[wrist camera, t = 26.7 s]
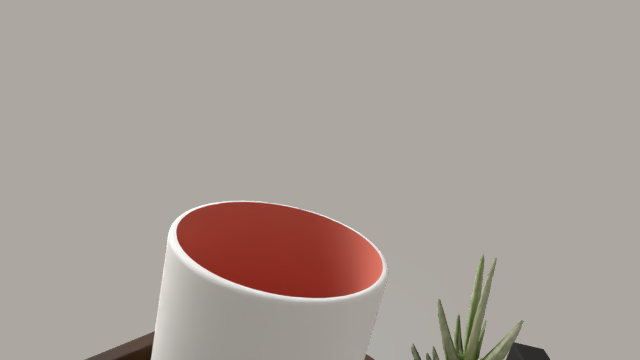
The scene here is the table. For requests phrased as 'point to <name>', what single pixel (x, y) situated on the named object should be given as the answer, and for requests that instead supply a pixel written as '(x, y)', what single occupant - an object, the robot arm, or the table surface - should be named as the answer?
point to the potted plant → (472, 327)
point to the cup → (266, 286)
